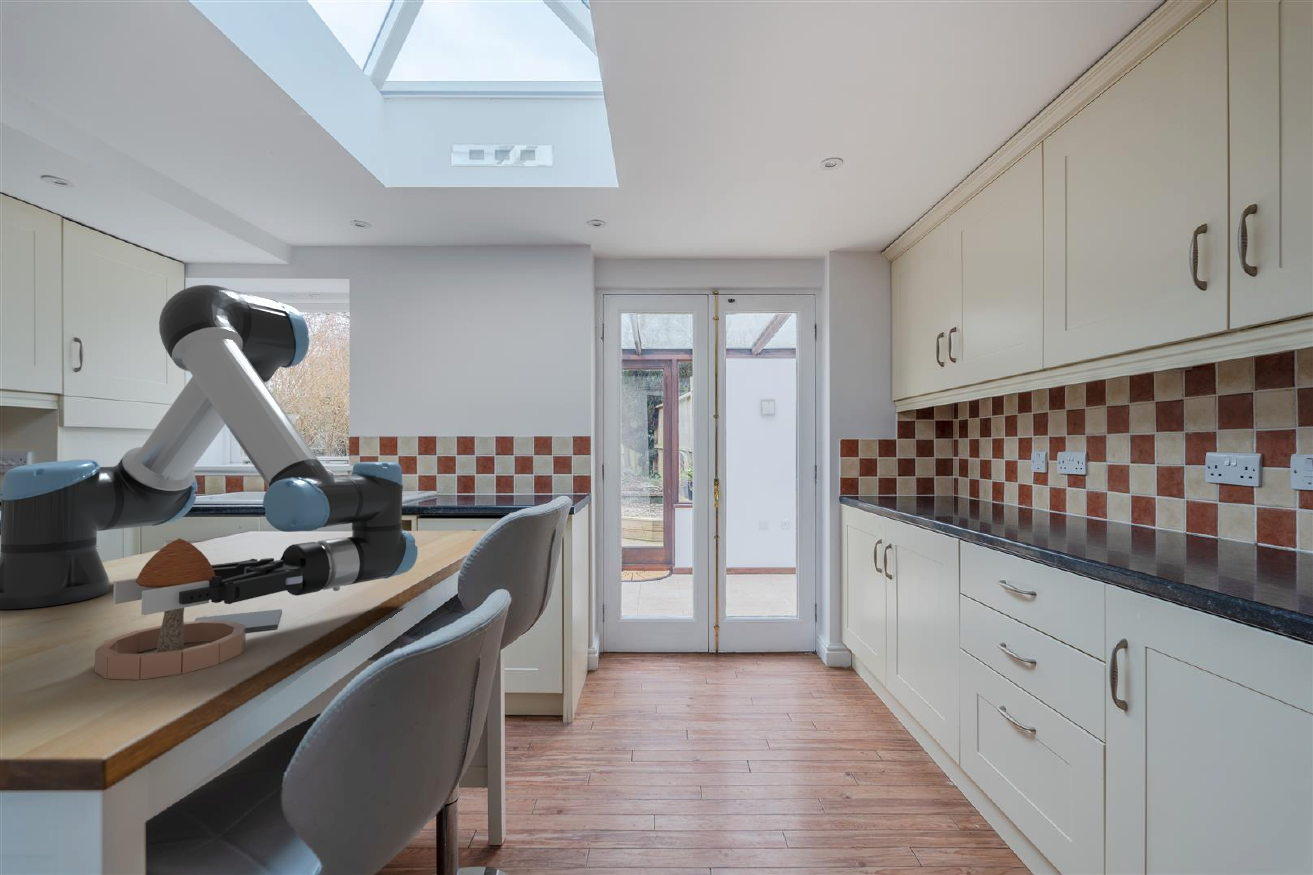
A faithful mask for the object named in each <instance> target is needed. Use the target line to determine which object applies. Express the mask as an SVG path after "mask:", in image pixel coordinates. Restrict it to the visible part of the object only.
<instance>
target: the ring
mask: <svg viewBox="0 0 1313 875" xmlns="http://www.w3.org/2000/svg"><path fill="white" fill-rule="evenodd" d="M161 626H162V625H158V626H153V627H147V628H143V629H138V630H134V631H131V632H127V633H124V634H121V635H118V636H116V637H112V638H110V639H107V640H105V641H104V642H103V643H102V644H100V646H98V647H97V648H96V649H95V651H94V673H96V674H98V675H99V676H101V677H103V678H105V679H107V680H146V679H153V678H154V679H155V678H161V677H167V676H175V675H176V676H177V675H181V674H185V673H186V674H187V673H190V672H194V671H197V670H201V669H205V668H209V667H212V666H216V665H217V666H218V665H220V664H223V663H224V662H226V661H228V660H230V659H233V658H234V657H236V656H238V655H241V654H242V653H243V652H244V649H245V645H246V633H247V632H246V626H245V625H243V624H240V623H237V622H234V621H217V620H205V621H204V620H202V621H194V620H193V621H184V644H189V643H196V642H207V643H203V644H201V645H200V644H199V645H196V646H191V647H187V648H183V649H182V650H175V651H167V652H159V653H157V652H152V653H140V652H144V651H148V650H153V649H157V644H158V640H159V635H160V631H161ZM188 642H189V643H188ZM219 663H220V664H219Z"/></svg>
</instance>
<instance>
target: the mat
mask: <svg viewBox="0 0 1313 875" xmlns="http://www.w3.org/2000/svg"><path fill="white" fill-rule="evenodd" d="M282 614H283V609H282V608H280V609H269V610H260V611H259V610H258V611H252V612H249V611H248V612H239V613H232V614H231V613H230V614H222V615H221V614H219V615H210V616H200V617H199V616H198V617H196V618H195V619H194V620H193V621H202V620H204V621H205V620H217V621H234V622H237V623H240V624H243V625H245V626H246V633H249V632H258V631H266V630H275V629H279V625H280V622H281V618H282Z"/></svg>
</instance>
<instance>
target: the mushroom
mask: <svg viewBox="0 0 1313 875" xmlns="http://www.w3.org/2000/svg"><path fill="white" fill-rule="evenodd" d="M211 565H212V564H211V563H210V561H209V559H208V558H207V557H206V556H205V555H204V554H203V552H202V551H201V550H200V549H199V548H197V547H196V546H195V545H193V543H191V542H189V541H187V540H185V539H182V538H181V537H180V538H177V539H175V540H173V541H172V542H170V543H169V542H168V543H167V544H166V545H165V546H164V547H162V548H160V550H159V551H157V552H155V554H154V555H153V556H152V557H151V558H150V559H149V560H148V561H147V562H146V563H145V565H144V566H143V567H142V569H141V570H140V572H139V574H138V576H137V577H136V578H137V579H136V581H135V582H136V583H137V584H138V585H140V586H144V587H149V588H164V587H170V586H176V585H182V584H188V583H195V582H201V581H211V580H212V576H214V577H215V573H214V570H213V568H212V566H211ZM184 612H185V608H180V609H174V610H169V611H164V612H163V619H162V623H161V625H160V626H161V631H160V635H159V640H158V644H157V648H156V653H159V652H167V651H175V650H182V649H185V643H184V622H185V619H184Z"/></svg>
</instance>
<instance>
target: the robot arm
mask: <svg viewBox="0 0 1313 875" xmlns="http://www.w3.org/2000/svg"><path fill="white" fill-rule="evenodd" d="M158 326H159V327H158V329H159V330H158V333H159V334H160V340H161V342H162V345H163V347H164V349H165V350H166V353H167V354H168V356H169V357H170V359H171V360H172V361H173V363H174V364H175V366H176V367H178V368H179V369H181V370H184V371H186V372H190V374H191V375H192V376H191V378H189V380H188V382H187V383H186V385H185V386H184V388H183V389H182V390H181V392H180V393H178V394H179V395H178V396H177V398H175V400H174V402H173V403H172V404H171V405H170V407H169V408H168V410H167V411H166V413H165V414H164V415H163V417H162V418H161V419H160V422H158V424H157V425H156V427H155V428H154V430H153V431H152V432H151V434H150V435H149V437H147V439H146V441H145V443H144V444H143V445H142V446H139V447H138V446H137V447H132V448H131V449H129V450H128V451H126V452H125V454H124V455H123V456H122V458H121V459H120V460H119V461H118V463H117V464H116V465H114V466H100V465H99V462H98V461H97V460H95V459H71V460H64V461H63V460H57V461H46V462H37V463H32V464H26V465H19V466H15V467H13V468H11V469H9V470H7V471H6V472H5V473H4V475H3V478H2V484H1V488H0V490H1V492H0V610H19V609H20V610H21V609H23V610H24V609H34V608H43V607H51V606H58V605H63V604H64V605H65V604H72V603H77V602H81V601H85V600H90V599H93V598H98V597H100V596H102V595H105V594H108V592H109V591H110V579H109V576H108V574H107V571H106V568H105V566H104V564H103V561H102V559H101V557H100V554H99V552H98V548H97V536H98V532H101V531H110V530H120V529H129V528H131V529H132V528H139V527H151V526H153V527H154V526H159V525H162V524H165V523H172V522H176V521H177V520H179V519H181V518H183V517H185V515H186V514H188V512H190V511H191V509H192V507H193V506H194V504H195V502H196V500H197V495H196V494H195V493H196V492H198V482H197V479H196V473H195V470H194V467H195V466H196V464H197V463H198V462H199V460H200V459H201V458H202V456H203V455H204V454H205V452H206V451H207V450H208V449H209V447H210V445H212V442H214V440H215V439H216V438H217V436H218V435H219V433H220V432H221V431H222V430H223V428H224V427H225V425H226V427H227V429H228V430H229V432H230V433H231V434H232V436H233V437H234V439H235V440H236V441H237V444H238V445H239V446H240V448H241V449H242V450H243V452H244V453H245V456H246V457H247V458H248V460H249V461H250V462H251V464H252V465H253V467H254V468H255V469H256V471H257V473H258V474H259V475H260V477H261V479H262V480H263V481H264V483H265V485H266V486H267V487H268V488H267V489H266V491H265V492H264V496H263V498H262V500H263V501H262V507H263V508H264V510H265V514H264V516H265V520H266V521H267V522H268V523H269V524H270V526H271V527H273V528H274V529H276V530H278V531H280V532H287V533H290V532H291V533H292V532H293V533H295V532H312V531H315V530H318V529H323V528H328V527H333V526H338V525H340V526H341V525H347V524H348V525H349V524H351V533H352V536H349V537H348V536H347V537H346V536H345V537H344V536H343V537H338V538H337V537H336V538H330V539H322V540H318V541H310V542H309V541H308V542H303V543H302V542H301V543H300V542H299V543H294V544H291V545H289V546H288V547H286V548H285V550H284V551H283V553H282V556H281V557H280V559H278V560H275V558H274V557H268V558H266V557H265V558H261V559H259V560H258V559H257V558H250V559H248V560H241V561H232V562H226V563H225V562H224V563H217V564H215V563H214V564H211V566H212V568H213V570H214V573H215V577H214V576H212V580H211V581H201V582H195V583H188V584H182V585H176V586H170V587H164V588H149V587H144V586H140V585H138V584H137V583H136V582H135V581H136V579H137V577H134V578H127V579H120V580H113V592H112V593H113V597H112V598H113V600H112V601H113V602H112V603H113V604H114V605H117V604H123V603H129V602H134V601H135V602H137V601H140V600H141V613H140V614H141V615H142V616H148V615H153V614H157V613H164V611H169V610H174V609H180V608H184V609H185V608H190V607H195V606H200V605H206V604H209V603H210V601H211V603H213V604H214V603H215V604H219V603H221V602H223V603H224V604H226V605H232V604H235V603H240V602H243V601H248V600H252V599H256V598H260V597H264V596H269V595H272V594H277V593H278V594H279V593H281V592H286V591H287V592H288V593H289V594H290V595H292V596H303V595H308V594H312V593H317V592H320V591H325V590H330V589H332V590H333V591H334V592H336V591H337V592H339V591H340V589H341V587H346V586H350V585H355V584H360V583H365V582H366V583H367V582H371V581H376V580H377V581H378V580H381V579H382V580H383V579H385V580H386V579H389V578H391V577H395V576H399V575H403V574H405V573H408V572H409V571H410V570H411V569H413V567H415V564H416V562H417V559H418V553H419V550H418V546H417V545H416V539H415V537H414V535H413V534H412V533H411V532H409V531H408V530H404V529H403V527H402V523H403V522H402V520H403V519H402V518H403V514H402V513H403V489H404V485H403V484H404V483H403V472H402V471H403V470H402V466H401V465H400V464H399V463H398V462H394V461H361V462H356V463H354V464H353V468H352V471H351V472H352V473H351V474H346V475H345V474H344V475H330V474H329V473H328V471H327V469H326V468H325V466H324V465H323V464H322V463H321V461H320V459H319V458H318V457H317V456H316V454H315V453H314V452H313V450H312V448H311V447H310V446H309V444H308V443H307V441H306V440H305V439H304V437H303V435H302V434H301V433H300V432H299V430H298V429H297V427H296V426H295V424H294V423H293V421H292V420H291V419H290V417H289V416H288V414H287V413H286V411H285V410H284V409H283V407H282V406H281V404H280V403H279V401H278V400H277V399H276V397H275V396H274V395H273V393H272V391H271V390H270V389H269V388H268V386H267V384H266V383H268V382H269V381H270V380H271V379H272V377H273V376H274V375H275V374H276V372H277V371H278V369H279V368H284V369H289V368H291V367H292V368H293V367H295V366H298V365H300V363H301V362H302V361H303V360H305V357H306V356H307V353H308V350H309V346H310V337H309V327H308V324H307V322H306V320H305V317H304V316H303V315H302V314H301V312H300V311H299V310H298V309H296V308H295V307H293V306H291V305H289V304H285V303H282V302H280V301H278V300H276V299H267V298H264V297H260V296H256V295H252V294H249V293H244V292H241V291H237V290H232V289H229V288H226V287H223V286H219V285H214V284H213V285H211V284H199V285H193V286H190V287H186V288H185V289H181V290H180V291H178V292H176V293H175V294H173V296H171V297H170V299H168V300H167V302H166V303H165V304H164V306H163V308H162V309H161V312H160V315H159V322H158Z"/></svg>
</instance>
